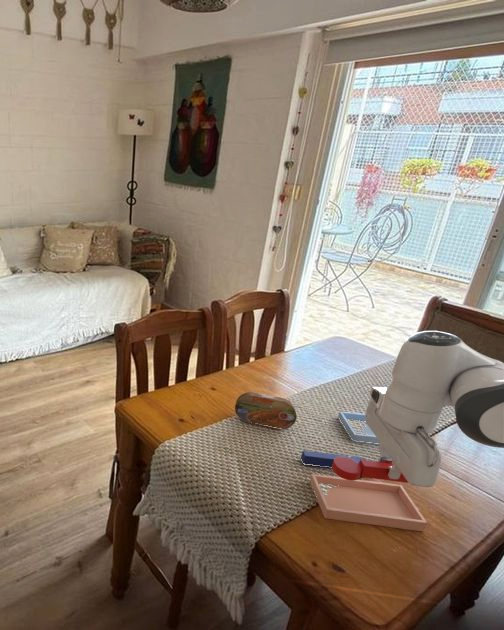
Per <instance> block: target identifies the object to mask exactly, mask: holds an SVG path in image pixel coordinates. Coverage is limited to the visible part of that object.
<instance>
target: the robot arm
mask: <svg viewBox="0 0 504 630" xmlns="http://www.w3.org/2000/svg"><path fill="white" fill-rule="evenodd" d="M369 396H370V398H369V400H368V402H367V406H366V410H365V413H364V414H365V419H366V423H367V425H368V426H369V427H370V429H371V430H372V432H373V433H374V434H375V436H376V437H377V439H378V440H379V442H380V444H379V445H378V447H379V457H378V459H377V461H378V462H387V463H393V465H394V466H393V467H389V466H388V467H387V471H386V473H387V475H388V476H389V478H390V479H399V477H400V475H401V473H402V474H403V476H404V477H405V478H406V480H407V481H408V483H407V484H409V485H410V486H414V487H421V488H432V487H433V486H435V484H436V481H437V478H438V474H439V472H440V466H441V463H442V453H441V451H440V448H438V443H437V442H436V440H435V439H434V438H433V437H431V436H430V434H432V433H433V432H434V431H435V430H436V427H437V424H438V422H439V419H440V417H441V414H442V412H443V409H444V408H445V407H448V406H449V407H453V408H454V416H455V420H456V424H457V426H458V428H459V430H460V431H461V432H462V433H463V434H464V435H465V436H466V437H468V438H469V439H470V440H473V441H474V442H476V443H479V444H481V445H483V446H488V447H492V448H499V449H504V362H503V361H501V360H499V359H496V358H493V357H489V356H487V355H485V354H482V353H480V352H478V351H477V350H475V349H473V348H471V346H469V345H467V344H466V343H465V342H464V341H463V340H462V339H461V338H460V337H459V336H457V335H455V334H452V333H448V332H444V331H439V330H422V331H419V332H416V333H413V334H411V335H409V336H408V337H407V338H406V339H405V340H404V342H403V344H402V345H401V346H400V349H399V351H398V353H397V355H396V359H395V361H394V364H393V366H392V369H391V380H390V383H389V384H388V385H387V387H381V386H379V387H378V386H373V387H371V388H370V391H369Z"/></svg>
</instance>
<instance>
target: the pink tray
mask: <svg viewBox="0 0 504 630" xmlns="http://www.w3.org/2000/svg"><path fill="white" fill-rule="evenodd" d="M310 482H311V483H310ZM318 483H324V484H332V485H334V486H337V487H334V486H331V487H332V488H330V489H328V490H329V491H327V492H329V493H326V494H328V495H323V493H322V491H321V488H320V486H319V484H318ZM311 484H312V485H311ZM309 485H310V487H311V490H312V491H313V494H314V497H315V499H316V501H317V503H318V506H319V509H320V510H321V513H322V515H323V517H324V519H328V520H335V521H342V522H343V521H344V522H351V523H357V524H365V525H371V526H379V527H388V528H393V529H402V530H408V531H417V532H425V530H426V528H427V525H428V522H427V520H426V519H425V517H424V516H423V514H422V513H421V511H420V510H419V508H418V507H417V506H416V504H415V503H414V501H413V500H412V498H411V497H410V495H409V494H408V493H407V491H406V490H405V488H404V487H403V485H402V484H396V483H390V482H389V483H387V482H381V481H372V480H365V479H357V480H346V479H343V478H341V477H339V476H332V475H323V474H315V473H311V475H310V479H309ZM338 485H339V486H338ZM312 486H313V488H312ZM313 489H314V490H313ZM332 489H333V490H332ZM314 491H315V493H316V495H315V493H314ZM316 496H317V497H316ZM317 498H318V500H317Z"/></svg>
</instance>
